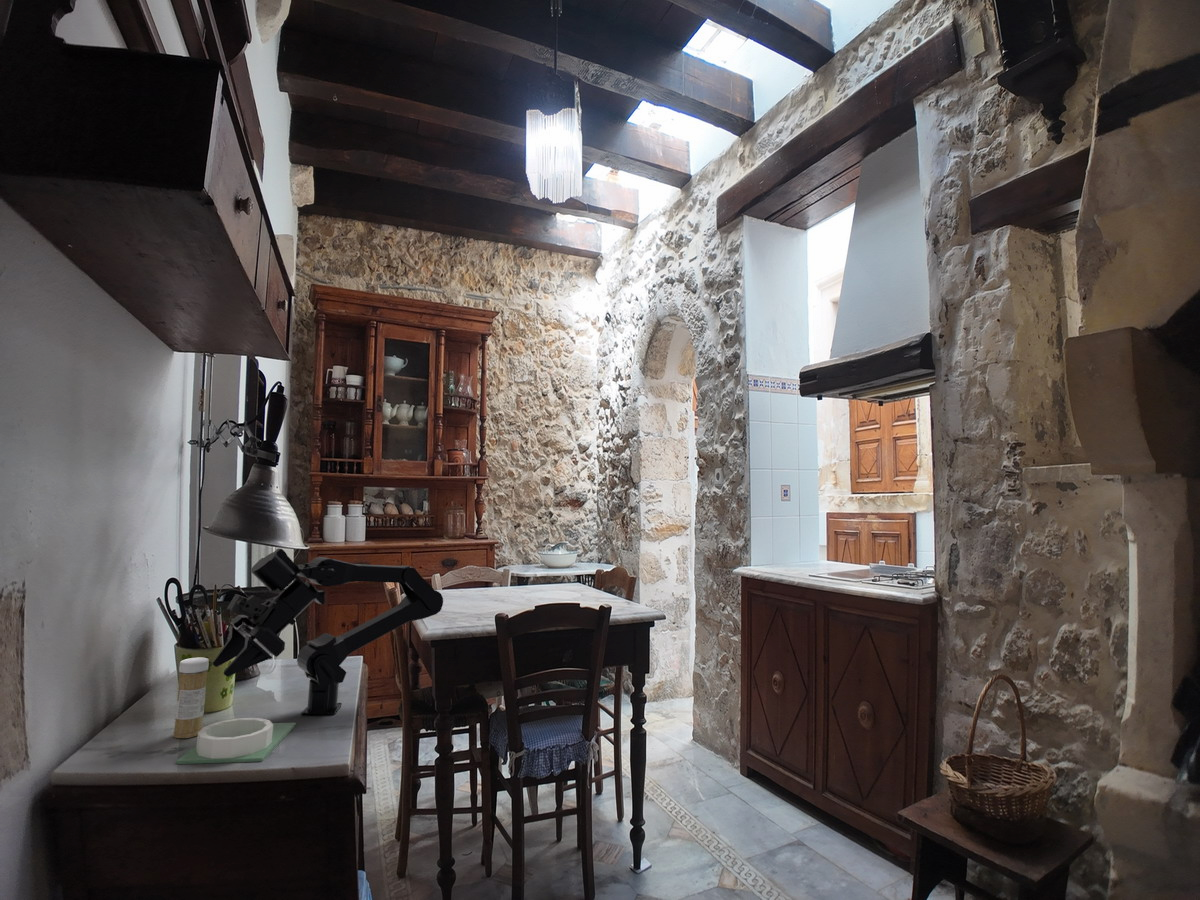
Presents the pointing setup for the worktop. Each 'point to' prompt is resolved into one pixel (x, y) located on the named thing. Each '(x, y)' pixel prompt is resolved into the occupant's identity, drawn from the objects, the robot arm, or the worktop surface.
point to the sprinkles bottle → (190, 697)
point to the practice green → (236, 741)
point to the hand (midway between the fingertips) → (219, 670)
